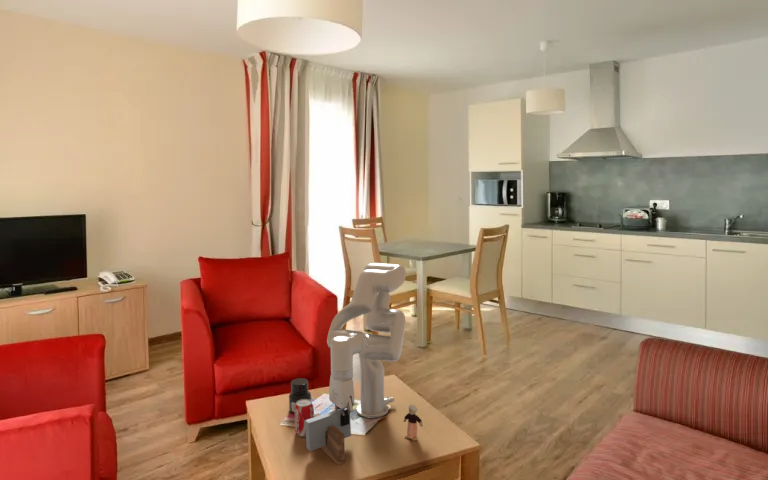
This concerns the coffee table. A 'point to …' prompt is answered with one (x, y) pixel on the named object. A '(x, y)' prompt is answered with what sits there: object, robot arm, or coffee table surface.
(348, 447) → the coffee table surface
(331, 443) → the walnut slotted plate
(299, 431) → the soda can
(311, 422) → the grey slotted plate
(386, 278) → the robot arm
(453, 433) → the coffee table surface
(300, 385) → the ink bottle
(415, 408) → the grandmother figurine
